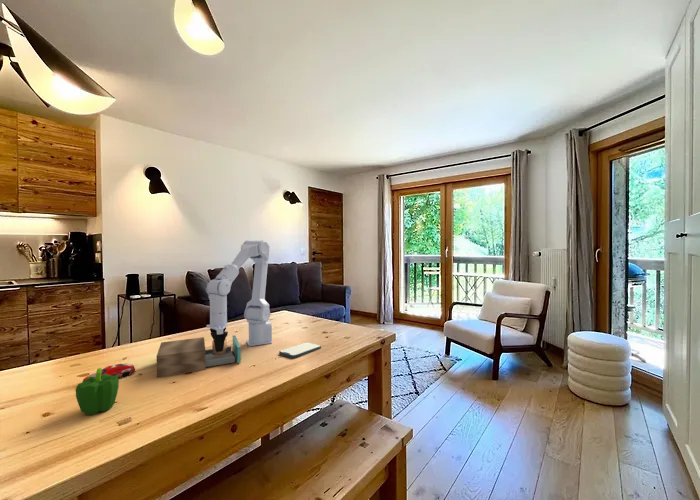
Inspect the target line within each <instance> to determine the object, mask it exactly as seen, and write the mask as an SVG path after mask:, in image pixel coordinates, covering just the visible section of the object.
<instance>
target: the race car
mask: <svg viewBox="0 0 700 500" xmlns="http://www.w3.org/2000/svg"><path fill="white" fill-rule="evenodd" d="M135 373H136V367H135V365H134V364H133V363H116V364H112V365H108V366H105V367H103V368H102V370H101V375H103V374H108V375H111V376H117V377H118V379H122V378H126V377H127V376H128V377H129V376H132V375H134V374H135ZM89 377H96V372H95V373H91V374H89V375H87V376H85V377H84V378H83V380H82V382H84V381H85V380H86V379H88V378H89ZM128 377H127V378H128Z"/></svg>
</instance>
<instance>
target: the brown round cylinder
mask: <svg viewBox="0 0 700 500" xmlns="http://www.w3.org/2000/svg"><path fill="white" fill-rule="evenodd" d="M211 342H212V346H211V347H212V348H211V349H212V355H223V354H226V353H227V347H228V346H227V345H228V344H227V338H225V342H224V347H223V351H221V352H216V349H215V344H214V340H213V339H212V341H211Z"/></svg>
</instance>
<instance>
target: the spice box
mask: <svg viewBox="0 0 700 500" xmlns="http://www.w3.org/2000/svg"><path fill="white" fill-rule="evenodd" d="M205 350H206V344H205V337H204V336H202V337H195V338H187V339H180V340H179V339H178V340H177V339H176V340H170V341H161V343H160V346H159V347H158V351H157V353H156V358H155V359H156V378H163V377H169V376H174V375H181V374H186V373H192V372H198V371H205V370H206V367H205Z"/></svg>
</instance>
